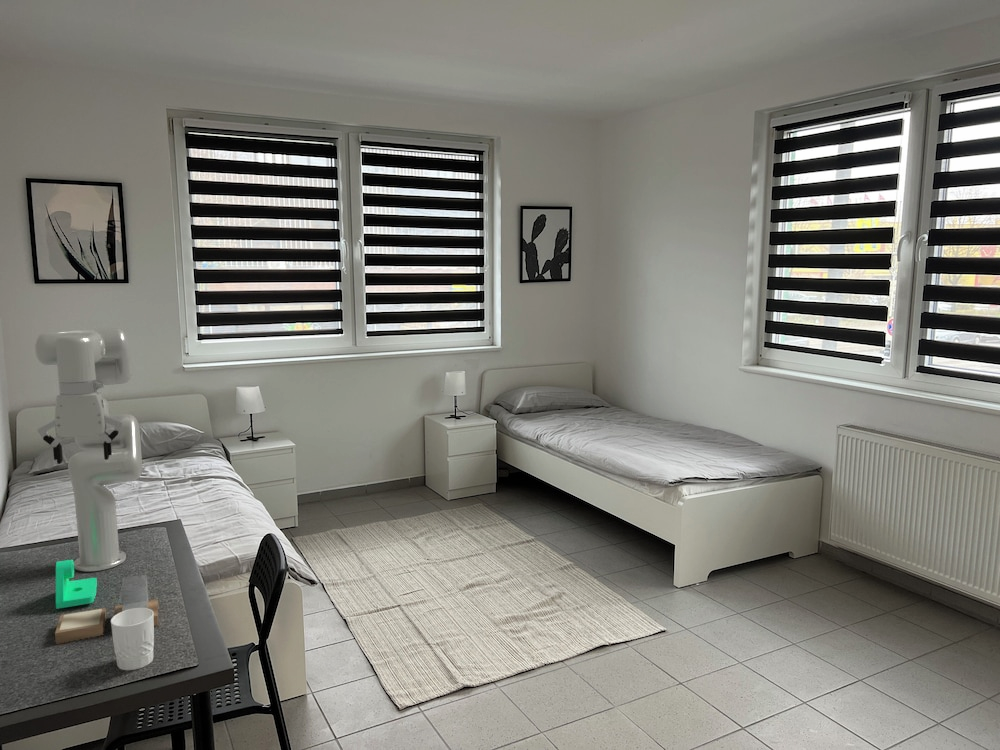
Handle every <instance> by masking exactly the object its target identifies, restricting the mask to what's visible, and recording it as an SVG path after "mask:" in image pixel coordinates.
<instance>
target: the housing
mask: <svg viewBox="0 0 1000 750" xmlns="http://www.w3.org/2000/svg"><path fill="white" fill-rule="evenodd" d="M147 576H148V575H147V574H141V575H133V576H127V577H122V580H121V587H120V598H121V605H122V612H123V611H125V610H129V609H134V608H147V609H148V603H149V602H148V601H149V590H148V577H147Z"/></svg>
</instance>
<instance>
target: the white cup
mask: <svg viewBox="0 0 1000 750" xmlns="http://www.w3.org/2000/svg"><path fill="white" fill-rule="evenodd" d="M110 626H111V634H112V642H113V647H114V653H115V658H116V665H117V666H116V667H117V668H118V669H119V670H122V671H134V670H139V669H143V668H144V667H146V666H149V664H150V663H152V662H153V660H154V647H155V627H154V612H153V611H152V610H151V609H147V608H134V609H129V610H125V611H123V612H120V613H118V614H116V615H115V616H114V615H113V617H111V619H110Z"/></svg>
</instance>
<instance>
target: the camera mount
mask: <svg viewBox="0 0 1000 750" xmlns="http://www.w3.org/2000/svg"><path fill="white" fill-rule="evenodd" d="M74 576H75V568H74V560H73V559H64V560H60V561H56V564H55V609H56V610H57V609H58V610H59V609H64V608H69V607H76V606H81V605H82V606H83V605H88V604H91V603H94V601H95V600H96V597H95V596H96V595H97V586H98V579H97V577H89V578H88V577H87V578H83V579H76V580H70V579H73V578H74ZM94 599H95V600H94Z"/></svg>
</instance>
